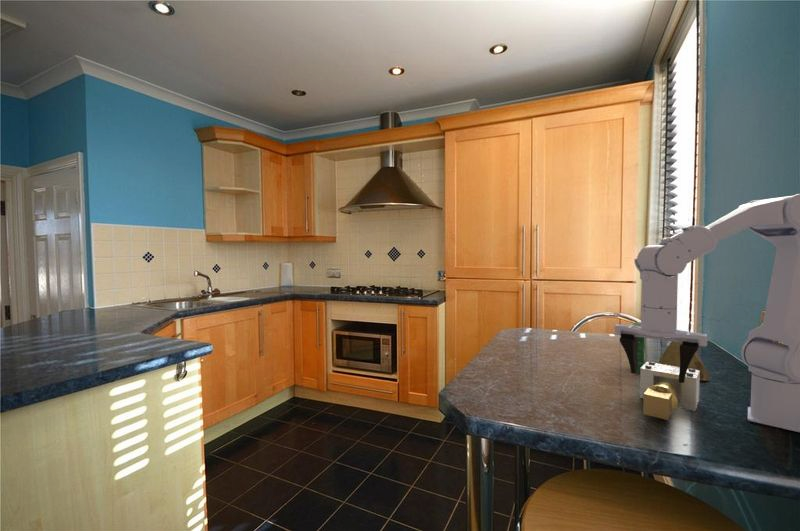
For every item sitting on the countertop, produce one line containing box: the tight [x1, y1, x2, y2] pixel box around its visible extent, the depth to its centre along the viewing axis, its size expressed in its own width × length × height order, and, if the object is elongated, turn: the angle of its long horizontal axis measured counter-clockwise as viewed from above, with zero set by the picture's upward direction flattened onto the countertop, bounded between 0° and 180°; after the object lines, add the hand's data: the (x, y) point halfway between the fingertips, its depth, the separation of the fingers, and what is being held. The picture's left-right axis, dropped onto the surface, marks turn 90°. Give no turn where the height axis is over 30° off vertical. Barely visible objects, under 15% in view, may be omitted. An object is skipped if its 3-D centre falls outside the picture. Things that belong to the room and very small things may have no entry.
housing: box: [639, 361, 701, 412], centre depth 84 cm, size 10×7×7 cm
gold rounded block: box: [642, 381, 678, 421], centre depth 76 cm, size 12×6×6 cm, turn 137°
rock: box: [658, 341, 710, 382], centre depth 100 cm, size 11×9×10 cm
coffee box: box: [633, 321, 646, 374], centre depth 107 cm, size 8×3×13 cm, turn 144°
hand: (657, 376), depth 72 cm, fingers open, 7 cm apart
